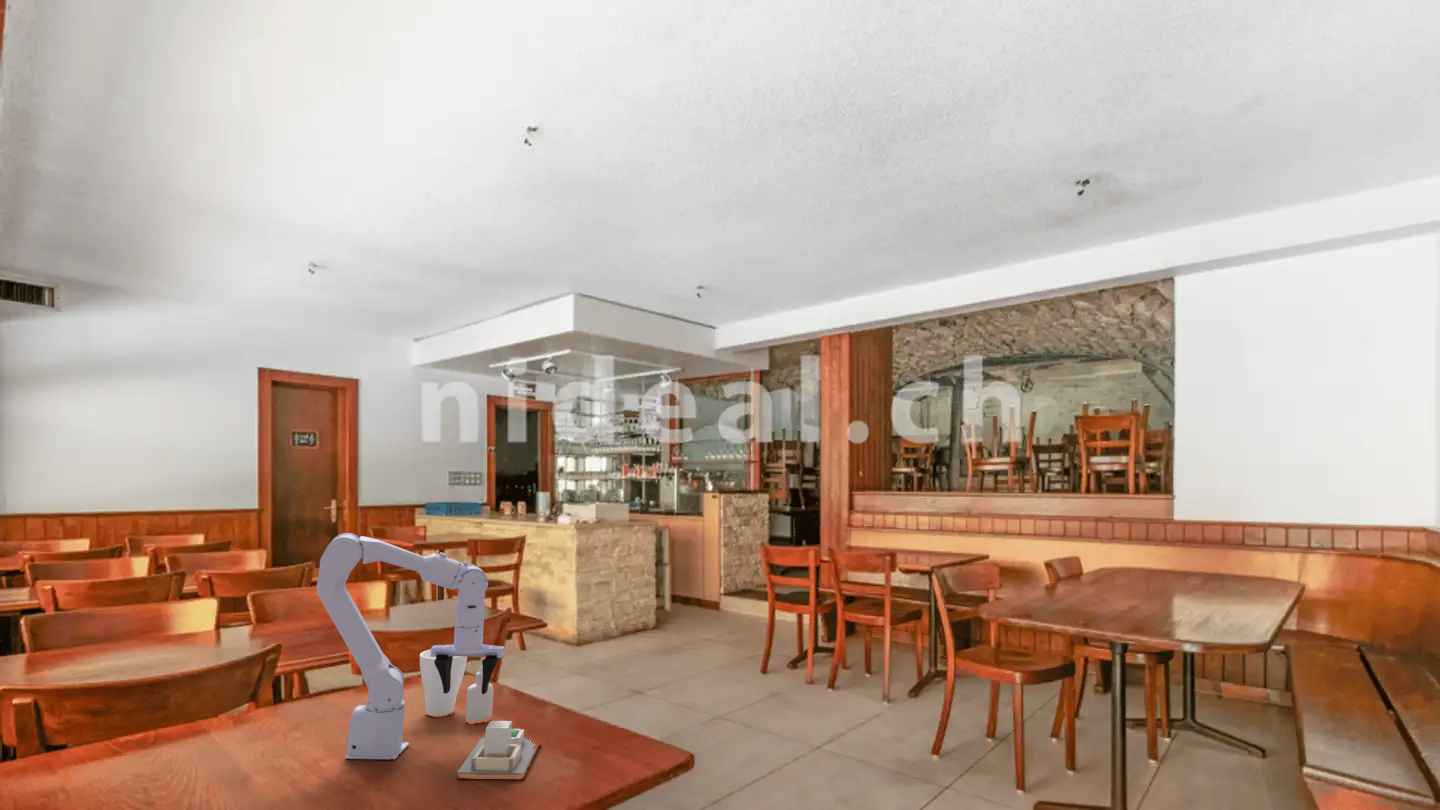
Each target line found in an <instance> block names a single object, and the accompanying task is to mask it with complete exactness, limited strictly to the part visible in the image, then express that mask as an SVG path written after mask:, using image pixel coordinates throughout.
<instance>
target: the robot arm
mask: <svg viewBox="0 0 1440 810" xmlns="http://www.w3.org/2000/svg"><path fill="white" fill-rule="evenodd" d="M361 559H363V561H362V564H363V565H365V564H371V563H374V562H379V561H380V562H383V563H387V564H390V565H394V566H396V567H397V566H398V567H401V568H404V569H408V570H411V571H415V572H417V573H419V576H420V578H421V580H422V581H424V582H427V583H431V584H434V585H436V586H440V587H443V588H446V589H449V590H457V589H458V591H457V602H456V604H455V618H454V634H453V636H454V637H453V644H436V645H433V646H431V648H430V650H431V657H436V660H434V663H435V666H436V668H437V670H438V672H439V674H440V677H441V681H442V685H443V692H444V694H447V693H448V692H449V691H450V685H451V666H452V660H453V656H464V657H467V658H468V657H472V658H474V657H476V658H479V657H480V658H481V657H482V658H483V660H482V661H481V664H482V665H481V666H482V667H483V680H482V694H485V693H486V692H487V690H488V685H489V683H490V681H491V679H492V675H493V673H494V670H495V668H496V665H497V664H498V661H499V660H500V659H502V658H503V657H504V656H505V645H504V646H503V645H492V644H491V645H490V644H483V643H484V628H485V627H484V626H485V625H484V623H485V610H486V609H485V607H486V602H485V598H486V594H485V592H486V591H487V589H488V587H489V582H488V577H487V575H486V573H485V572H484V571H483V570H482V568H480V567H479V566H476V565H475V564H474V563H473V564H472V563H471V564H470V563H469V562H468V561H466V560H464V561H463V562H461V561H458V560H456V559H453V558H449V557H447V554H446V553H444V552H442V551H441V552H439V554H438V553H436V552H433V553H431V554H429V555H426V556H423V555H421V554H418V553H415V552H413V551H410V550H408V549H404V548H402V547H399V546H396V545H394V544H391V543H388V542H386V541H382V540H381V539H376V538H373V537H368V536H364V535H361V536H360V537H359V536H358V535H356V534H354V533H350V532H343V533H340V534H338V535H336V536H335V537H334V538H333V539H332V540H331V542H330V543H329V544H328V545H327V547H326V548H325V549H324V552H323V554H322V555H321V557H320V560H319V569H318V575H317V581H316V586H315V587H316V589H315V590H316V593H317V596H318V598H319V599H320V601H321V603H322V604H323V606H324V608H325V610H326V611H327V613H328V615H329V616H330V619H331V620H332V622H333V624H334V626H335V627H336V629H337V632H339V634H340V636H341V638H342V640H343V641H344V643H345V645H346V647H347V648H348V650H349V652H350V653H351V655H352V657H353V659H354V661H355V662H356V664H357V666H358V668H359V669H360V672H361V675H362V678H363V680H364V683H365V685H366V687H367V689H368V693H367V694H368V697H367V698H368V701H366V703H365V704H364V705H363V704H362V705H360V704H359V705H357V706H356V707H354V709H353V712H352V713H351V715H350V719H349V720H350V721H349V725H348V737H347V749H346V750H347V751H346V755H345V756H344V758H345V759H346V760H347V759H349V760H391V759H393V760H395V759H397V758H398V757H399V756H400V755H401V754H402V752H403V751H404V750H406V748H407V747H408V746H409V744H410V742H406V741H405V742H404V741H403V733H404V732H403V731H404V721H405V719H404V718H405V705H406V701H405V700H404V699H403V698H404V695H405V687H404V682H405V681H404V680H405V679H404V674H403V672H402V671H401V670H400V669H399V668H398V667H396V666H395V665H393V663H391V661H390V660H389V658H388V657H387V656H386V655H385V654H384V652H383V651H382V649H381V647H380V645H379V644H378V642H377V640H376V638H375V636H374V635H373V633H372V631H371V629H370V627H369V626H368V624H367V622H366V621H365V619H364V617H363V615H362V613H361V611H360V609H359V607H358V606H357V604H356V603H355V601H354V599H353V598H352V595H351V594H350V592H349V590H348V589H347V587H346V584H347V581H348V579H349V576H350V574H351V572H352V570H353V569H355V567H356V566H357V564H358V563H359V562H360V560H361ZM399 754H400V755H399ZM398 755H399V756H398Z"/></svg>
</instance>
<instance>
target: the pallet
mask: <svg viewBox="0 0 1440 810" xmlns="http://www.w3.org/2000/svg"><path fill="white" fill-rule="evenodd" d="M514 729H515V730H516V737H511V744H510V758H499V757H484V750H485V736H482V737H481V738H480V739H479V741H478V742H477V744H476V746H475V747H474V748H473V749H472V751H471V752H470V754H469V755H468V756H467V757H466V759H465V761H464V762H462V765H461V766H460V768H459V769H458V770H457V772H456V775H457V774H475V775H476V774H477V775H521V774H524V772H525V770H526V768H527V766H528V764H529V761H530V759H531V757H532V755H533V753H534V751H535V749H536V748H535V749H533V747H535V746H534V745H536V744H535V743H534V744H533V743H532V742H531V740H530V738H531V737H525V729H521V728H514ZM524 738H525V739H524ZM527 738H529V740H530V741H529V740H528V739H527ZM526 739H527V740H526ZM533 742H534V741H533ZM536 747H537V746H536Z"/></svg>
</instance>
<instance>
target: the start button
mask: <svg viewBox="0 0 1440 810" xmlns="http://www.w3.org/2000/svg"><path fill="white" fill-rule="evenodd" d="M515 729H516V728H511V737H516V730H515Z"/></svg>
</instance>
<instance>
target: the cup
mask: <svg viewBox="0 0 1440 810" xmlns="http://www.w3.org/2000/svg"><path fill="white" fill-rule="evenodd" d="M434 660H436V657H431V649H427V650H424V651H421V652H420V654H419V670H420V677H421V684H422V686H423V694H424V699H425V701H424V702H425V714H426V713H427V714H430V715H442V714H446V713H450V712H452V711H453V710H454V711H455V708H456V701H457V696H458V693H459V690H460V687H461V684H462V682H463V679H464V674H465V670H466V666H467V664H468V663H467V662H468V657H464V656H453V660H452V666H451V685H450V691H449V692H448V693H447V694H444V692H443V685H442V681H441V677H440V674H439V672H438V670H437V668H436V666H435V663H434Z"/></svg>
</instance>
